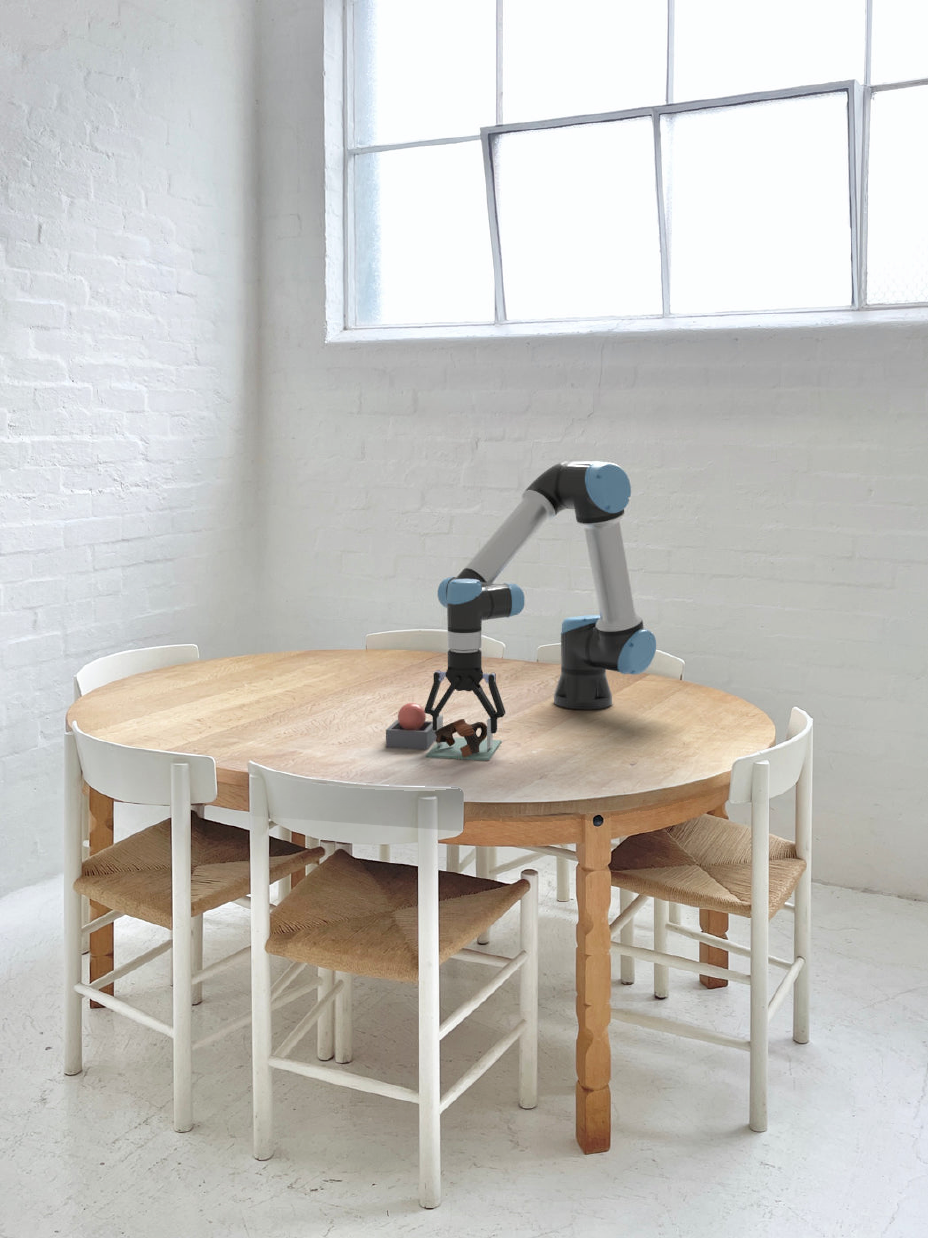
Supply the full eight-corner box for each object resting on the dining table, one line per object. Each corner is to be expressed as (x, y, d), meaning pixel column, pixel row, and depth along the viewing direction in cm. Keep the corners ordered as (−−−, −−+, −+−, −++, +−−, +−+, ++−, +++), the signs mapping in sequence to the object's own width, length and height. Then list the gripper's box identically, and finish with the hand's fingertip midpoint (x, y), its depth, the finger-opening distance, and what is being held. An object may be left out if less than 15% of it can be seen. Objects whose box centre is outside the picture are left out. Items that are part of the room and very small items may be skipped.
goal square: (501, 742, 264) (501, 740, 264) (488, 760, 249) (488, 758, 249) (442, 739, 267) (442, 736, 267) (426, 756, 252) (426, 754, 252)
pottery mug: (454, 762, 247) (438, 727, 248) (440, 770, 256) (425, 736, 257) (500, 741, 252) (485, 707, 253) (486, 750, 261) (471, 717, 262)
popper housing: (437, 738, 267) (437, 721, 267) (427, 749, 258) (427, 732, 257) (397, 736, 269) (397, 719, 269) (386, 747, 260) (385, 729, 259)
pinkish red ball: (428, 727, 265) (428, 700, 264) (422, 734, 259) (421, 707, 258) (402, 726, 267) (401, 699, 266) (394, 733, 261) (394, 705, 260)
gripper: (519, 648, 255) (518, 744, 259) (418, 644, 260) (419, 738, 264) (513, 654, 248) (512, 753, 252) (409, 650, 253) (410, 747, 257)
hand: (464, 745), depth 258 cm, fingers closed on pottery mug, 11 cm apart
